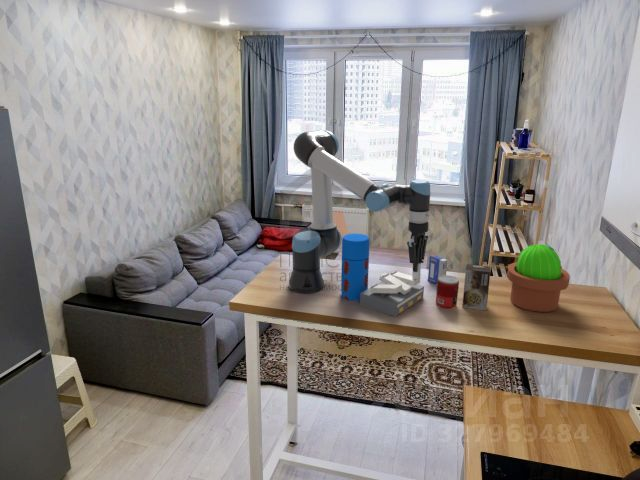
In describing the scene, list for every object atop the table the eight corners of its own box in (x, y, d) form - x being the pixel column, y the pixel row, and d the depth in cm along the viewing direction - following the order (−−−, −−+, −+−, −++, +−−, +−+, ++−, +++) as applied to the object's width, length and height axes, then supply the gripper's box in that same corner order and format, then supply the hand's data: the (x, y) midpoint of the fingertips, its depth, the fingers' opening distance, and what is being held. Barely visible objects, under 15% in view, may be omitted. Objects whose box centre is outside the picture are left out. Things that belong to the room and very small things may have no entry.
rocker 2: (379, 279, 185) (380, 274, 184) (385, 276, 188) (386, 271, 187) (404, 294, 179) (406, 289, 178) (410, 291, 182) (411, 286, 181)
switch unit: (359, 304, 183) (360, 289, 181) (389, 287, 199) (390, 273, 197) (395, 316, 173) (396, 300, 171) (423, 297, 189) (424, 282, 187)
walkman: (427, 280, 207) (429, 255, 203) (432, 279, 208) (434, 254, 204) (440, 286, 200) (443, 260, 197) (445, 285, 202) (447, 259, 198)
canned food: (457, 309, 179) (459, 283, 175) (435, 307, 180) (438, 281, 177) (455, 301, 186) (458, 276, 183) (435, 299, 187) (437, 274, 184)
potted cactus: (504, 310, 179) (512, 248, 171) (503, 288, 198) (511, 232, 191) (567, 319, 172) (579, 255, 164) (560, 296, 191) (570, 238, 184)
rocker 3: (388, 278, 190) (388, 273, 190) (394, 275, 194) (394, 269, 193) (414, 285, 183) (414, 280, 182) (420, 282, 186) (420, 277, 186)
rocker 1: (370, 292, 180) (369, 286, 180) (376, 289, 184) (375, 283, 183) (396, 293, 172) (395, 287, 172) (402, 289, 176) (401, 283, 175)
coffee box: (486, 304, 184) (491, 266, 179) (486, 311, 178) (491, 271, 173) (462, 301, 186) (466, 263, 182) (461, 307, 181) (465, 269, 176)
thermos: (335, 295, 191) (336, 237, 184) (352, 287, 199) (353, 231, 191) (356, 303, 184) (358, 243, 177) (372, 295, 192) (375, 237, 184)
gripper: (419, 226, 171) (416, 285, 177) (435, 219, 180) (432, 275, 187) (401, 223, 175) (399, 281, 182) (418, 216, 185) (415, 271, 192)
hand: (416, 278), depth 184 cm, fingers closed
